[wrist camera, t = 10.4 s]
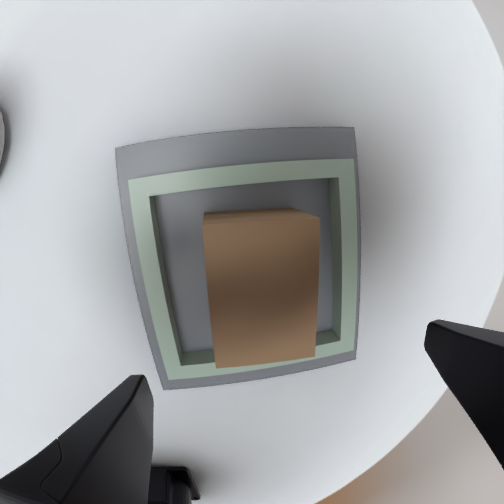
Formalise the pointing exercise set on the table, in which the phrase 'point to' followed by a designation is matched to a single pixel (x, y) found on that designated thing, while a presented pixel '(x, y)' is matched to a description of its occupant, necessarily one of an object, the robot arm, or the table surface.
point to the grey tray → (228, 199)
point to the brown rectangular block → (262, 284)
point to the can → (1, 135)
